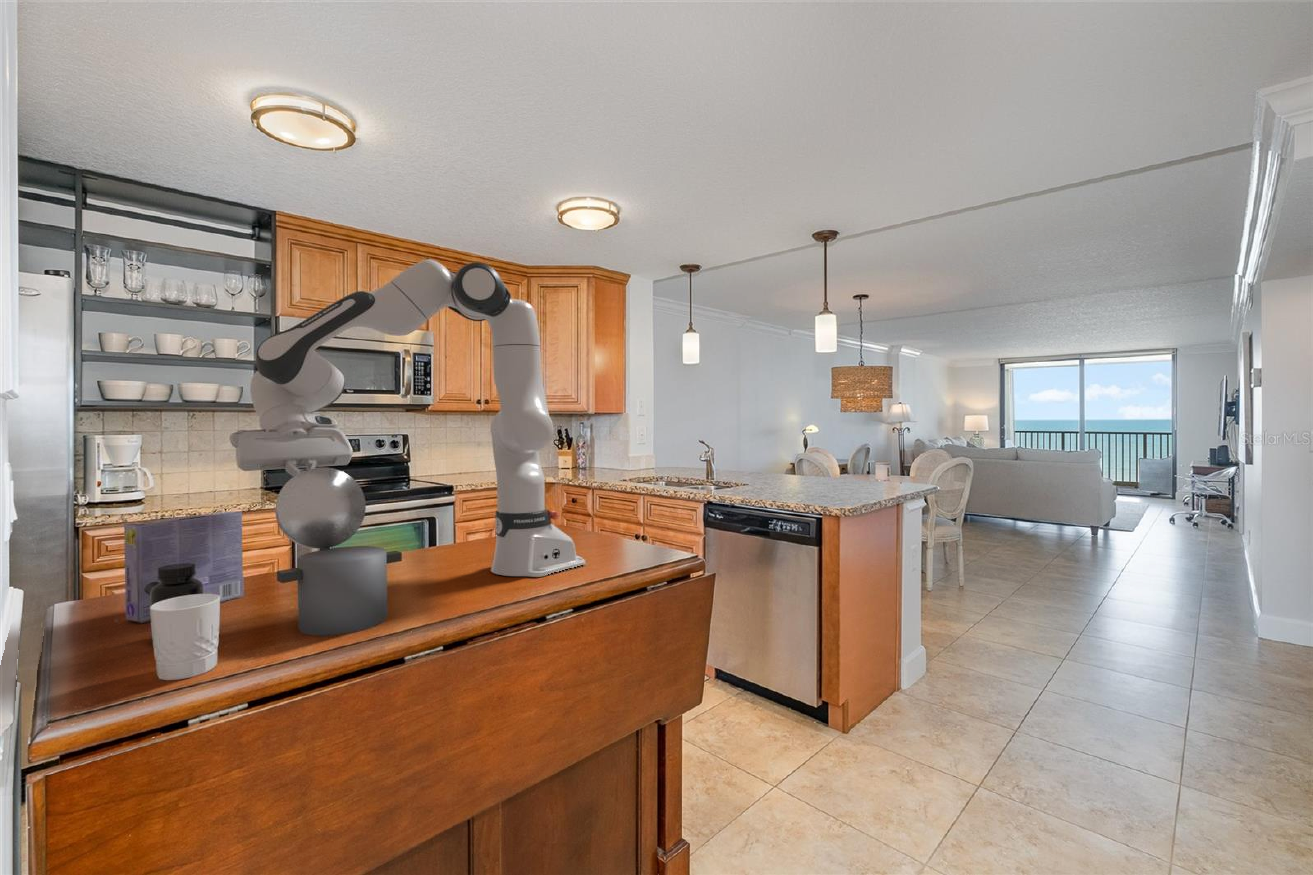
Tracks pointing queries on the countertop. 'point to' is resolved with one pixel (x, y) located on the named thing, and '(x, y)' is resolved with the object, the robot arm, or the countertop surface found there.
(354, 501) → the lid
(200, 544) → the cake pan box
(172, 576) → the supplement bottle
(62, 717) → the countertop surface
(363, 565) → the gray cooking pot
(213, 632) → the white cup
